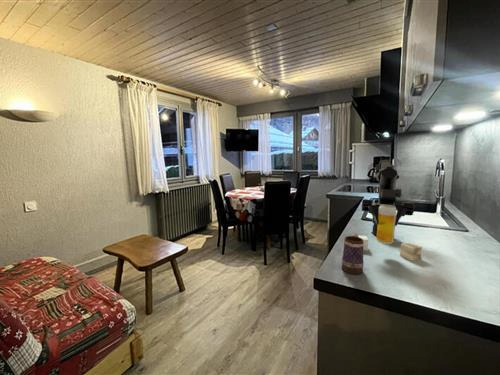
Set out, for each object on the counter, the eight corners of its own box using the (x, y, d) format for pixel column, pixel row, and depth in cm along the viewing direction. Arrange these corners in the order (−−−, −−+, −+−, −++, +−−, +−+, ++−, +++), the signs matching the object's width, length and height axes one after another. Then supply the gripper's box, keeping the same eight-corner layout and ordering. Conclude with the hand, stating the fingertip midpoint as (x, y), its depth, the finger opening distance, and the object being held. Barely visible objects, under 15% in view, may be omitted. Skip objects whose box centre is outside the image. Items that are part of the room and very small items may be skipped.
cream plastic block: (365, 246, 104) (366, 236, 103) (367, 250, 99) (368, 239, 99) (353, 245, 106) (354, 234, 105) (354, 249, 101) (355, 238, 100)
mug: (361, 277, 77) (363, 242, 76) (339, 271, 81) (340, 238, 80) (365, 265, 86) (367, 234, 84) (345, 260, 90) (347, 230, 88)
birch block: (408, 254, 96) (409, 242, 96) (420, 259, 91) (422, 247, 91) (399, 255, 95) (400, 244, 94) (411, 260, 90) (412, 248, 89)
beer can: (376, 238, 98) (379, 203, 96) (393, 240, 95) (396, 205, 93) (376, 242, 93) (378, 206, 91) (393, 245, 90) (396, 208, 88)
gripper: (363, 180, 98) (361, 211, 90) (416, 182, 90) (419, 216, 82) (362, 195, 106) (360, 225, 98) (411, 199, 98) (413, 231, 90)
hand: (386, 224), depth 92 cm, fingers closed on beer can, 6 cm apart
